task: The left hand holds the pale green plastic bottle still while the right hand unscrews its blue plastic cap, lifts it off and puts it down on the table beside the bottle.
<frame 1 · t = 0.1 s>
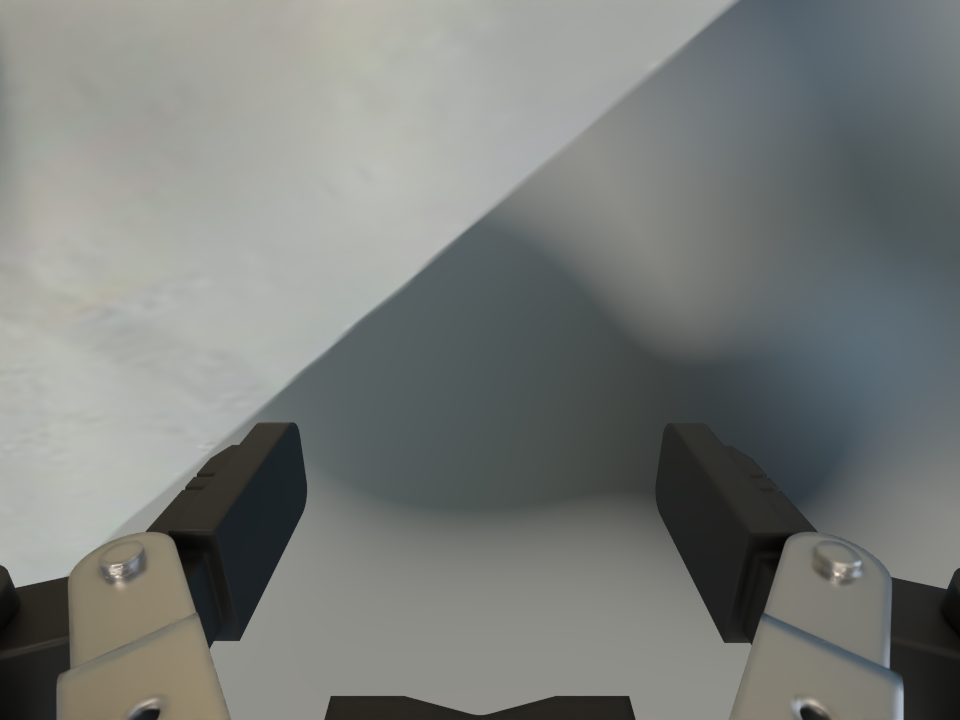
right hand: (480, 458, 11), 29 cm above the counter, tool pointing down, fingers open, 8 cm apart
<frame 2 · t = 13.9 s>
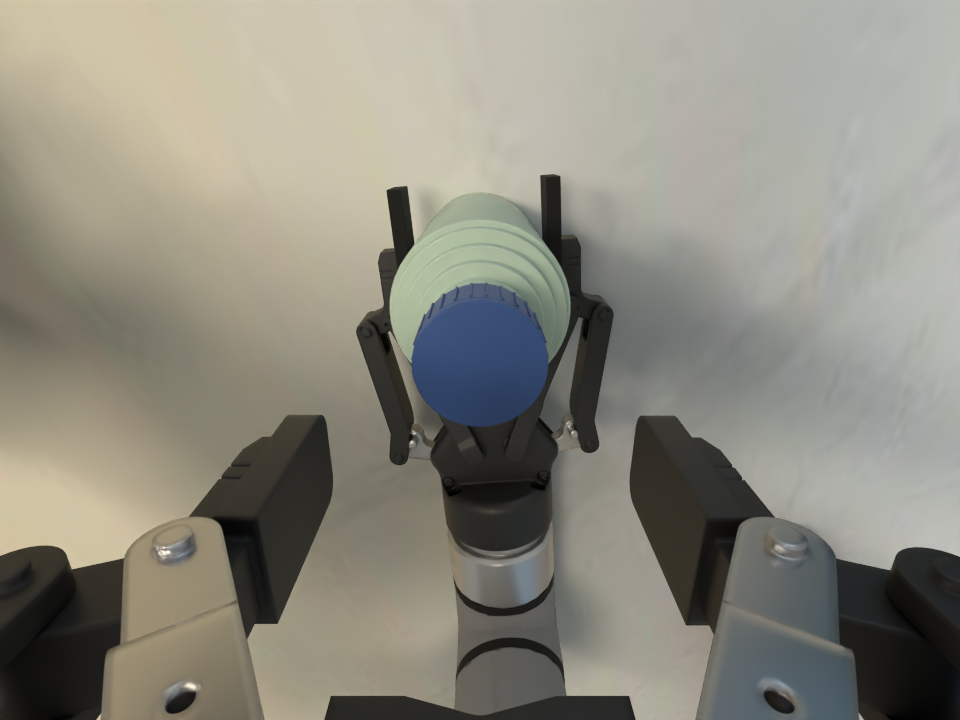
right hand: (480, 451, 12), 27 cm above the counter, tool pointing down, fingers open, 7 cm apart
left hand: (473, 182, 29), fingers closed on bottle, 8 cm apart
bottle: (480, 250, 36), on the counter, touching left hand
cap: (480, 363, 17), point 21 cm above the counter, screwed on, not yet turned
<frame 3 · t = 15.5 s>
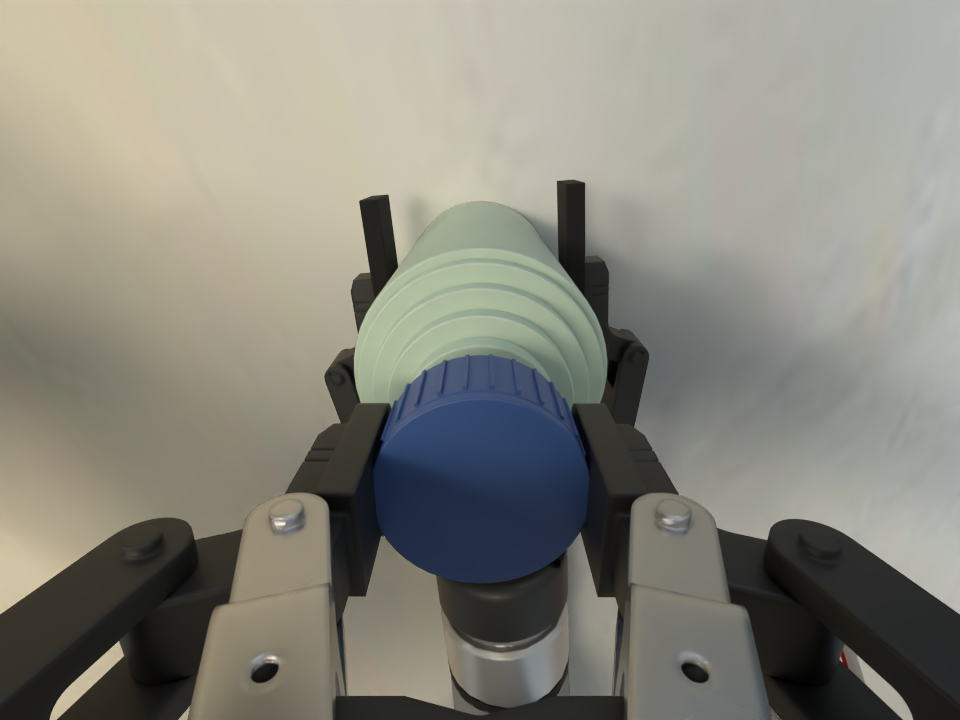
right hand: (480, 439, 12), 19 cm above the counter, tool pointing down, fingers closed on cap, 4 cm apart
bottle: (480, 270, 30), on the counter, touching left hand
toy: (831, 712, 44), on the counter
cap: (480, 489, 10), point 21 cm above the counter, screwed on, not yet turned, touching right hand
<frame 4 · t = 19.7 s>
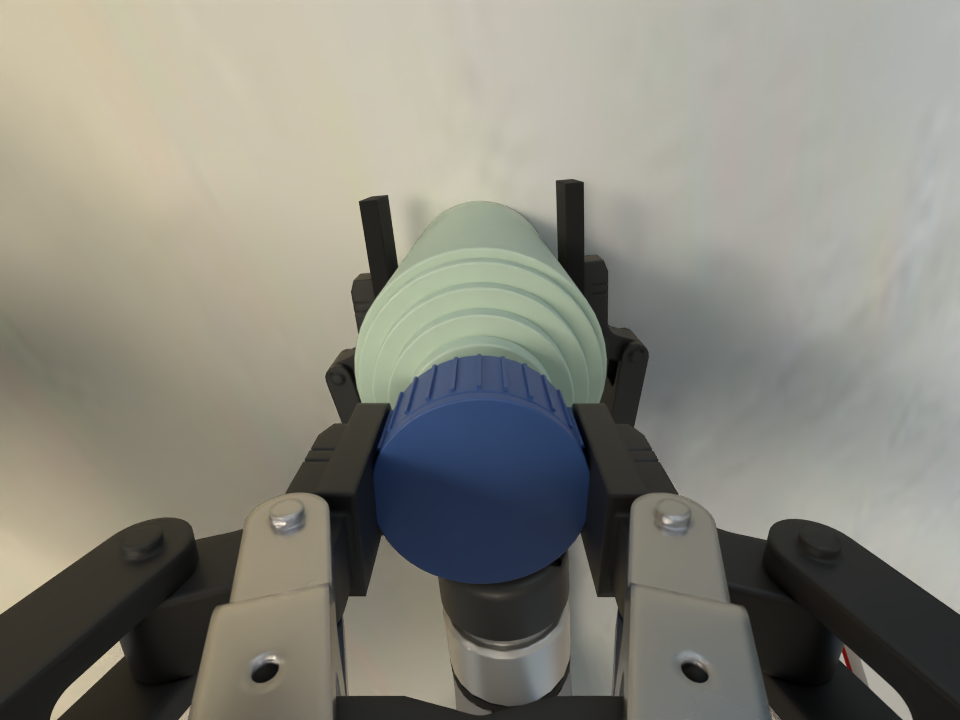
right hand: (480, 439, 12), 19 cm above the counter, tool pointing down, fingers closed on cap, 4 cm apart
bottle: (480, 270, 30), on the counter, touching left hand
toy: (833, 710, 44), on the counter
cap: (481, 489, 10), point 21 cm above the counter, turned 100° so far, risen 0.1 cm, still on its thread, touching right hand
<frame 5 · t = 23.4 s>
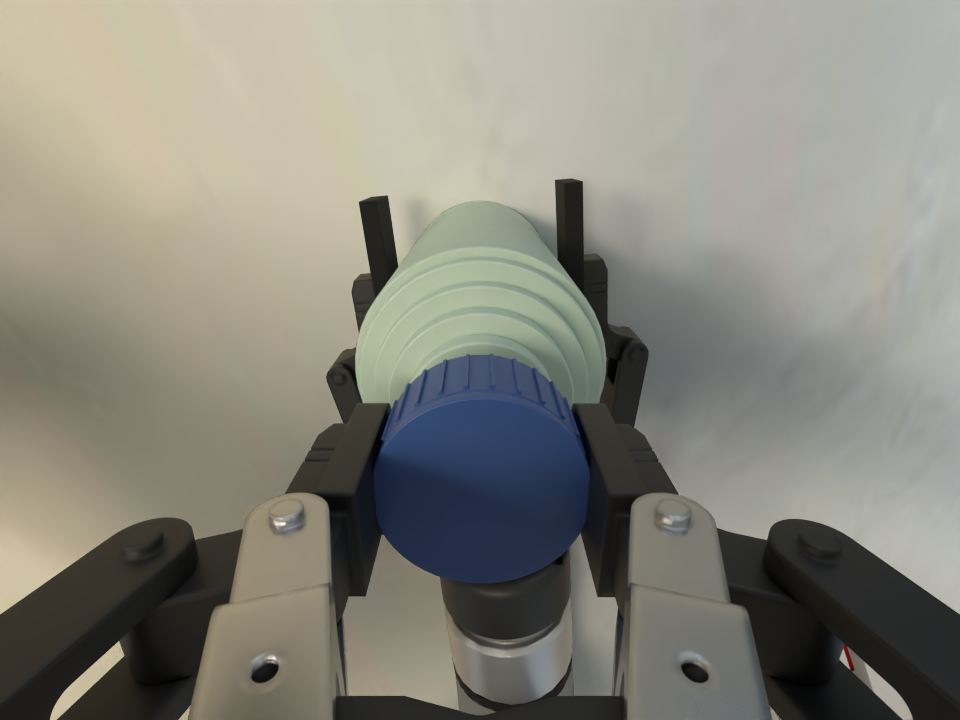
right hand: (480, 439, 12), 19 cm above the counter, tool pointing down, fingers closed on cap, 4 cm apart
bottle: (480, 269, 30), on the counter, touching left hand
toy: (836, 708, 44), on the counter
cap: (481, 489, 10), point 21 cm above the counter, turned 199° so far, risen 0.2 cm, still on its thread, touching right hand
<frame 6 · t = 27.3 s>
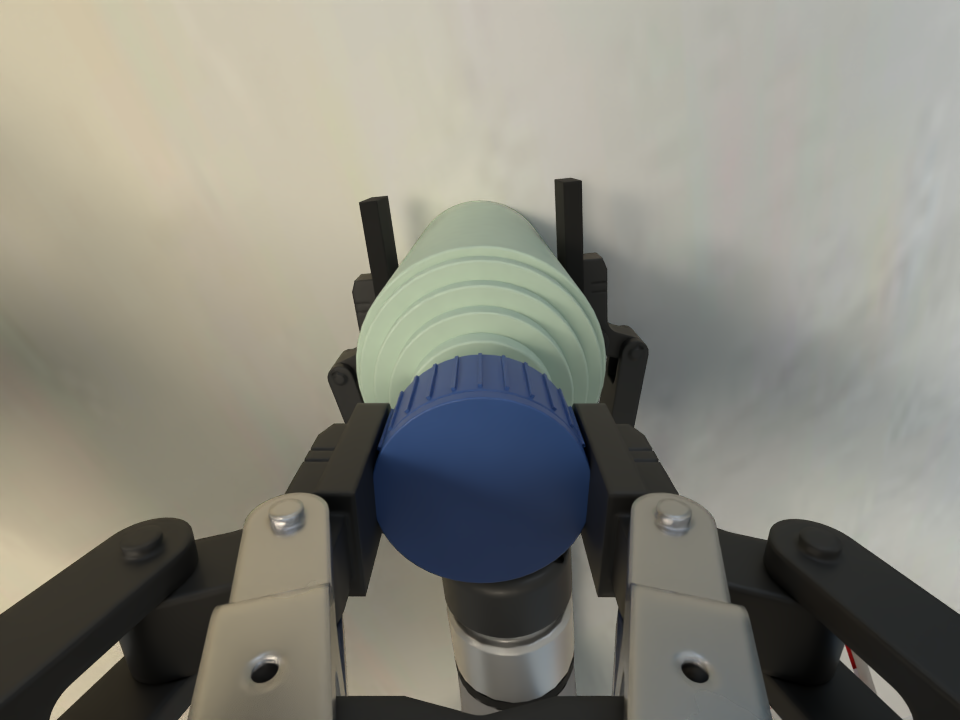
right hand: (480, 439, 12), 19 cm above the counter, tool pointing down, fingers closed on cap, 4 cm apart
bottle: (480, 269, 30), on the counter, touching left hand
toy: (838, 706, 44), on the counter
cap: (482, 488, 10), point 21 cm above the counter, turned 299° so far, risen 0.3 cm, still on its thread, touching right hand
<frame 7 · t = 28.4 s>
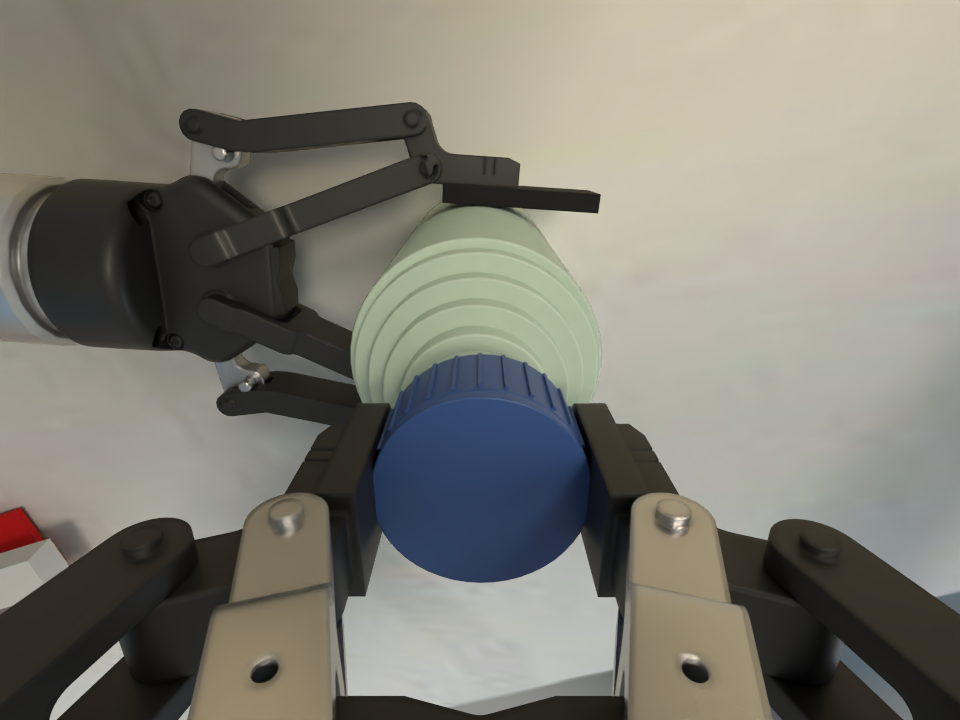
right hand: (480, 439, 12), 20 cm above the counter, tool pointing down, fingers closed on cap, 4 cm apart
left hand: (579, 295, 24), fingers closed on bottle, 8 cm apart
bottle: (477, 260, 30), on the counter, touching left hand
cap: (481, 488, 10), point 21 cm above the counter, off its thread, touching right hand
when the right hand's fingers open (2 cm above the counter, at t = 33.9 s): cap drops 2 cm, point 2 cm above the counter.
when the left hand's fingers open (6 cm above the counter, at t = 35.0 s): bottle stays where it is, on the counter.
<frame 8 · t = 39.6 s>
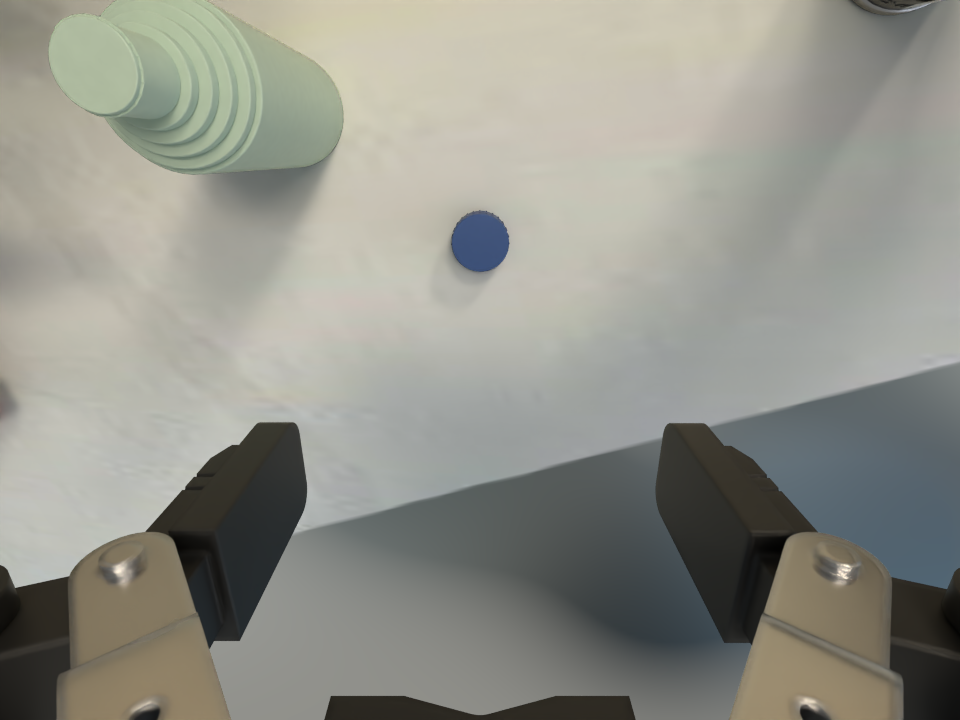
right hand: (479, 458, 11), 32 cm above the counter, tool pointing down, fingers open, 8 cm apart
bottle: (291, 111, 38), on the counter
cap: (480, 242, 40), point 2 cm above the counter, off its thread
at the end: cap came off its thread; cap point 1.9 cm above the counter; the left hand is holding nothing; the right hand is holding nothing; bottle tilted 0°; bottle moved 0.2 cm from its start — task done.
